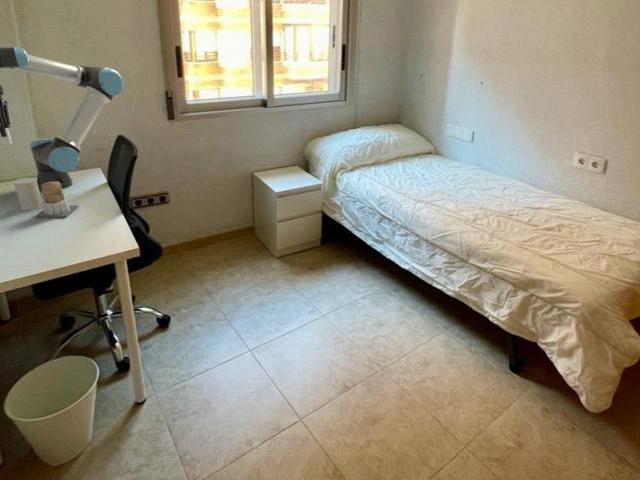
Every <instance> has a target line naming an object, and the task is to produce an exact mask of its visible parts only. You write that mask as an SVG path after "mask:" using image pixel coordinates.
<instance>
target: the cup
mask: <svg viewBox="0 0 640 480" xmlns="http://www.w3.org/2000/svg"><path fill="white" fill-rule="evenodd" d="M13 185H14V188H15V192H16V195H17V198H18V202H19V205H20V208H21V210H22V211H35V210H38V209H41V208H43V206H42V201H43V199H42V196H41V192H40V189H39V188H38V184H37V177H23V178H22V177H21V178H17V179H15V180H13Z"/></svg>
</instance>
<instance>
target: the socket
mask: <svg viewBox="0 0 640 480" xmlns="http://www.w3.org/2000/svg"><path fill="white" fill-rule="evenodd" d="M42 206H43V207H42V210H41V211H40V212H38V213H37V214H36V215H35V219H67V218H68V217H69V216H70V215H72V214H73V213H74V212H75V211H76V210H77V209H79V208H80V206H79V204H70V202H69V199H68V197H67V196H64V200H63V201H61V202H57V203H46V202H45V199H42Z"/></svg>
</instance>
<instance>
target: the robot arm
mask: <svg viewBox="0 0 640 480" xmlns="http://www.w3.org/2000/svg"><path fill="white" fill-rule="evenodd" d="M3 68H4V69H7V68H8V69H13V70H16V71H17V70H18V71H22V72H26V73H29V74H30V73H31V74H34V75H39V76H43V77H48V78H52V79H57V80H60V81H66V82H69V83H72V85H74V86H77V87H81V88H84V89H86V93H85V95H84V97H82V100H81V102H80V103H79V105H78V106H77V108H76V110H75V111H74V112H73V115H72V116H71V118H70V119H69V121H68V123H67V124H66V126H65V128H64V130H63V131H62V132H61V134H60V135H57V136H54V137H46V138H38V139H34V140H31V141H30V142H29V145H30V150H31V152H32V157H33V161H34V163H35V167H36V170H37V177H36V181H37V184H38V188H39V191H40V190H41V191H42V188H41V185H42V184H44V183H47V182H60V184H61V188H62V189H64V188H68V187H70V186H72V185H73V180H72V178H71V175H70V174H69V173H68V172H72V171H73V170H75V168H77V166H79V162H80V157H79V155H80V153H81V151H82V149H81V144H82V143H83V141H84V139H86V138H85V137H86V136H87V134H88V133H89V131H90V129H91V128H92V126H93V124H94V122H95V121H96V120H97V117H99V114H100V113H101V111H102V109H103V107H104V106H105V104H108V103H111V101H112V100H113V98H114V97H115V96H117V95H120V94H121V93H122V91H123V89H124V81H123V78H122V75H121V74H120V73H119V72H118V71H117V70H115V69H113V68H112V69H111V68H109V67H100V66H99V67H98V66H87V65H81V64H80V65H79V64H74V65H71V64H68V63H64V62H61V61H60V62H59V61H56V60H52V59H48V58H44V57H41V56H40V57H39V56H37V55H36V56H35V55H33V54H28V53H27V52H26V49H24V47H21V46H20V47H19V46H17V47H16V46H12V47H11V46H10V47H7V46H6V47H5V46H0V69H3ZM3 95H4V88H3V86H2V85H1V81H0V137H1V140H2V142H3V145H12V144H13V140H12V137H11V134H10V131H9V128H11V120H10V116H9V109H8V101H7V100H4V99H3Z"/></svg>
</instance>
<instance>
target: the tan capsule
mask: <svg viewBox="0 0 640 480" xmlns="http://www.w3.org/2000/svg"><path fill="white" fill-rule="evenodd" d="M41 188H42V190H41V192H42V195H43V198H44V199H45V202H46V203H57V202H61V201H63V200H64V197H65V196H64V193H63V188H61V184H60V182H47V183H44V184H42V185H41ZM44 199H43V200H44Z"/></svg>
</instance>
